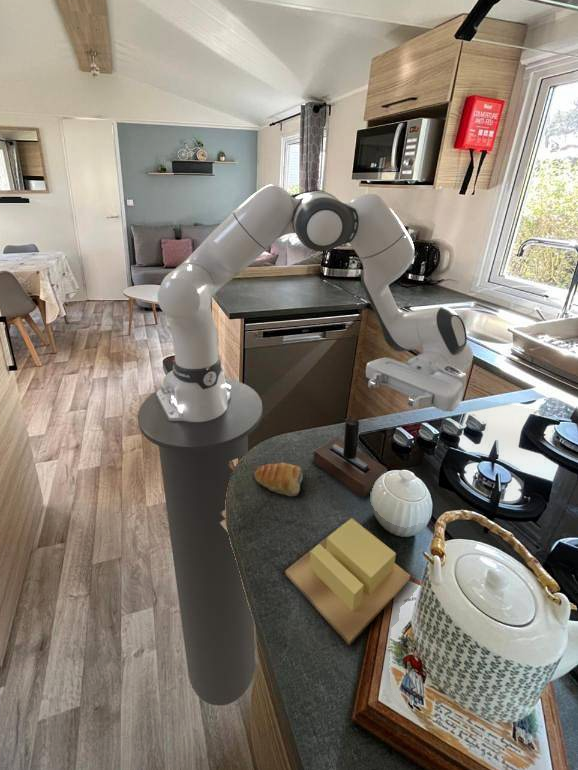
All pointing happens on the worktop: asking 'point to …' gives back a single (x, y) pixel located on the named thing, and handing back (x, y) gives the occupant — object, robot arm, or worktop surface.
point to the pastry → (280, 478)
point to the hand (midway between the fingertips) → (390, 394)
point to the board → (334, 607)
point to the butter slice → (336, 577)
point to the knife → (351, 445)
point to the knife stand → (349, 468)
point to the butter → (361, 554)
